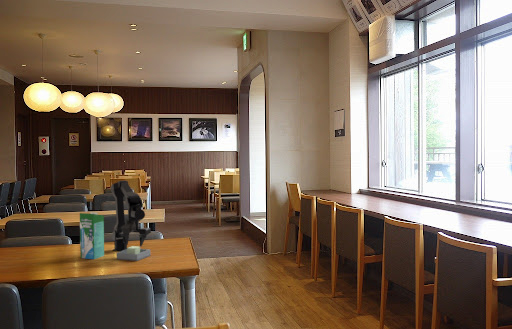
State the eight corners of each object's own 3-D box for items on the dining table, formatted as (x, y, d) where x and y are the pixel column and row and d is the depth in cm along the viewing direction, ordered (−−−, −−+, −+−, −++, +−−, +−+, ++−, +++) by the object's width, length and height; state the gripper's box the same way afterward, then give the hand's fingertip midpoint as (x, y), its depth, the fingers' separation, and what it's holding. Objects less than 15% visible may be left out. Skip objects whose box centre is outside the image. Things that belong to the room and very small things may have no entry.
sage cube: (127, 256, 255) (127, 247, 255) (132, 254, 260) (132, 246, 260) (135, 257, 253) (134, 248, 253) (140, 255, 258) (140, 246, 258)
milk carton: (104, 255, 261) (103, 211, 260) (93, 259, 252) (93, 213, 251) (91, 254, 264) (90, 210, 263) (80, 258, 255) (79, 212, 254)
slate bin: (116, 259, 253) (116, 252, 253) (130, 253, 265) (130, 247, 265) (137, 261, 248) (137, 254, 248) (150, 255, 261) (150, 249, 260)
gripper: (110, 219, 251) (110, 247, 252) (139, 220, 245) (140, 250, 246) (122, 216, 262) (122, 243, 262) (151, 217, 256) (151, 245, 256)
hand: (133, 245), depth 256 cm, fingers open, 9 cm apart
